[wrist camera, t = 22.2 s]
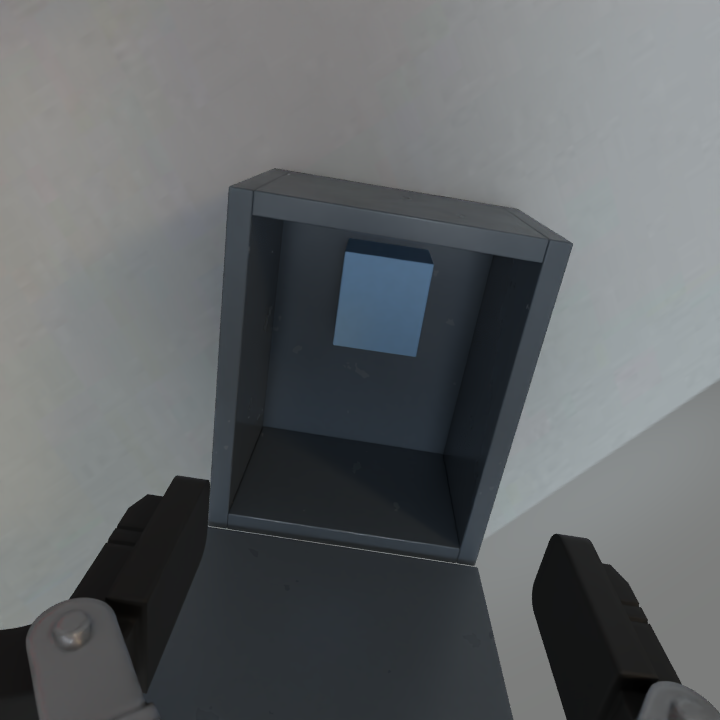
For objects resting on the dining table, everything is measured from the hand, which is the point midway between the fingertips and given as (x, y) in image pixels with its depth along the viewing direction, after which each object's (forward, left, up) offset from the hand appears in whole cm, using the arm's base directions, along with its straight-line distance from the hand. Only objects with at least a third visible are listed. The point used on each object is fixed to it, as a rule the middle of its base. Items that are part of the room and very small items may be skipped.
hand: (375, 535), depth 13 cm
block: (0, 0, -22) cm, 22 cm away
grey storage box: (+3, 0, -23) cm, 23 cm away
